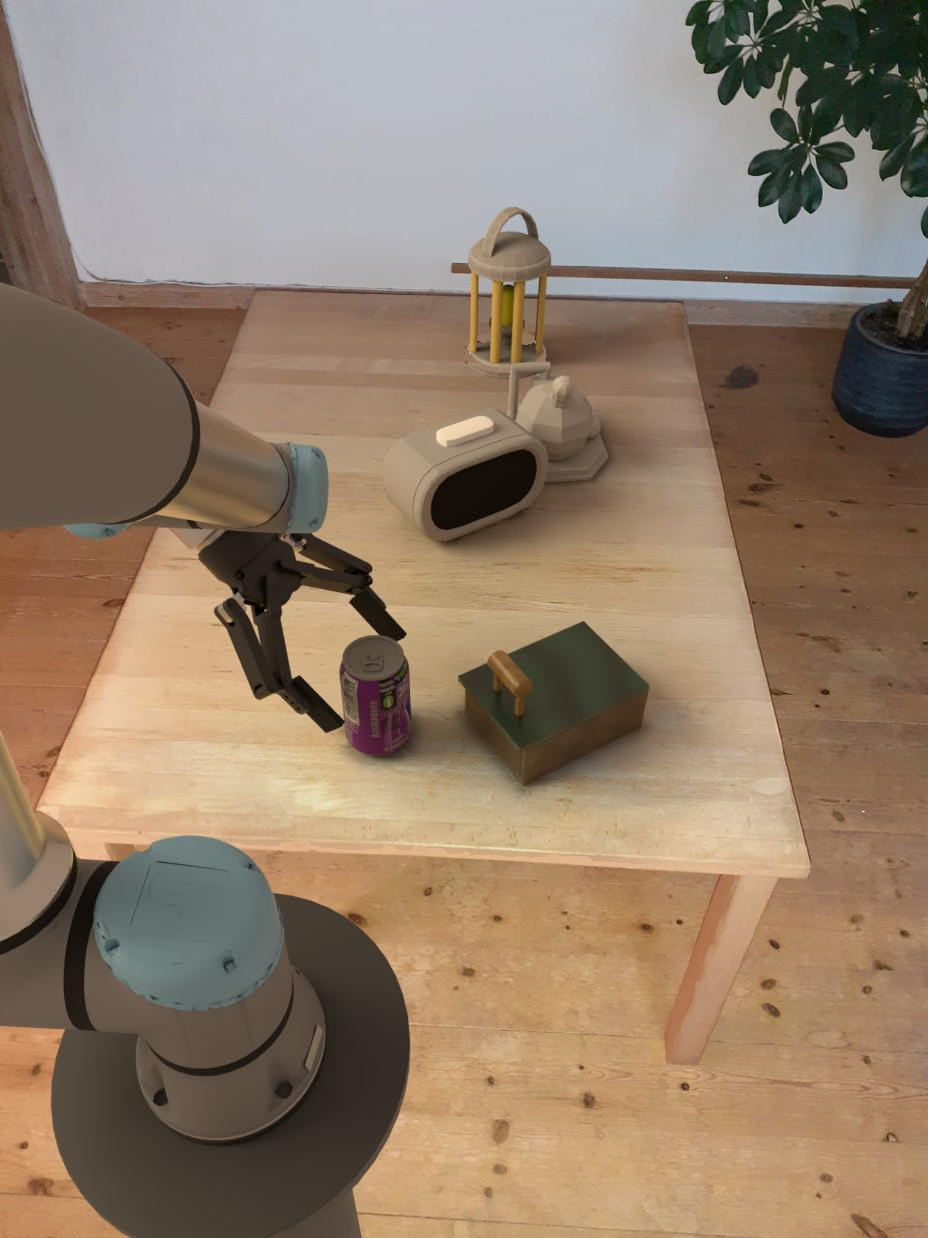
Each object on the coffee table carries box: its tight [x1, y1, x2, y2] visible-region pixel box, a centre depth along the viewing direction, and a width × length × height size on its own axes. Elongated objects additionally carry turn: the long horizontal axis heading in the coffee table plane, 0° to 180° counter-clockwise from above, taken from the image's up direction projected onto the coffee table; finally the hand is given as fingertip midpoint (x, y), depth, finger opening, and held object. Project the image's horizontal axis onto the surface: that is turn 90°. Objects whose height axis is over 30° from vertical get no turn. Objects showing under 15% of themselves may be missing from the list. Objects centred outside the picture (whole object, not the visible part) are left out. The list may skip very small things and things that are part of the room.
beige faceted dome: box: [505, 361, 609, 483], centre depth 143 cm, size 20×15×15 cm
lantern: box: [466, 206, 552, 379], centre depth 159 cm, size 14×14×25 cm
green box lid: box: [457, 620, 651, 753], centre depth 102 cm, size 16×12×6 cm
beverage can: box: [338, 634, 413, 757], centre depth 102 cm, size 7×7×12 cm
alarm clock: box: [381, 406, 548, 543], centre depth 131 cm, size 21×10×13 cm, turn 123°
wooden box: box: [464, 689, 649, 787], centre depth 106 cm, size 16×12×6 cm
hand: (368, 682), depth 101 cm, fingers open, 13 cm apart
